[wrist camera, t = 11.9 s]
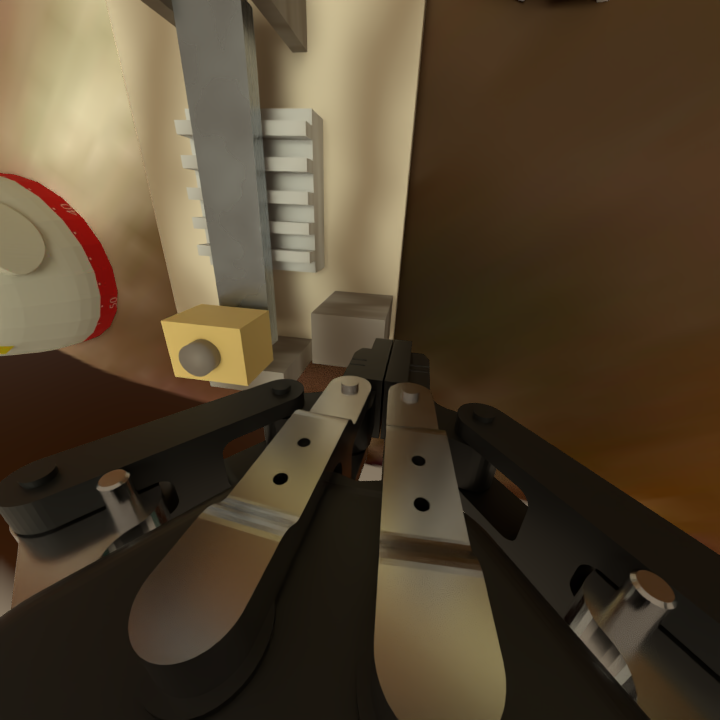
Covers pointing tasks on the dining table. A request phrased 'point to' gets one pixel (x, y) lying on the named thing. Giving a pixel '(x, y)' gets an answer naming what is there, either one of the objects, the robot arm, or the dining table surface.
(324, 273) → the cream board with rail
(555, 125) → the dining table surface
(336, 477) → the robot arm
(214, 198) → the strap
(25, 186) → the kitchen timer
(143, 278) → the dining table surface
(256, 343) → the block
